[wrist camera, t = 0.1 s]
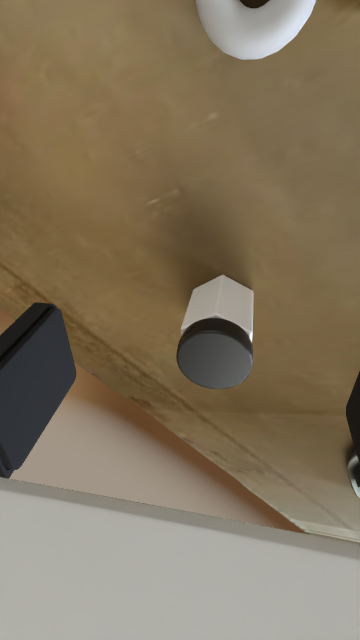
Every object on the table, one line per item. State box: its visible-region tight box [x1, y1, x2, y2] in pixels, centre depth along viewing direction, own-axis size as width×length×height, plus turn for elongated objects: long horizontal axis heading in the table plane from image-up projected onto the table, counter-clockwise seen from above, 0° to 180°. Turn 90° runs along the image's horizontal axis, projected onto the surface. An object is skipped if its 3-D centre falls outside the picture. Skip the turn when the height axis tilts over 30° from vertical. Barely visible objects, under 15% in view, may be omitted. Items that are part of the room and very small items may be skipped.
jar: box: [177, 275, 253, 389], centre depth 41 cm, size 9×8×12 cm
